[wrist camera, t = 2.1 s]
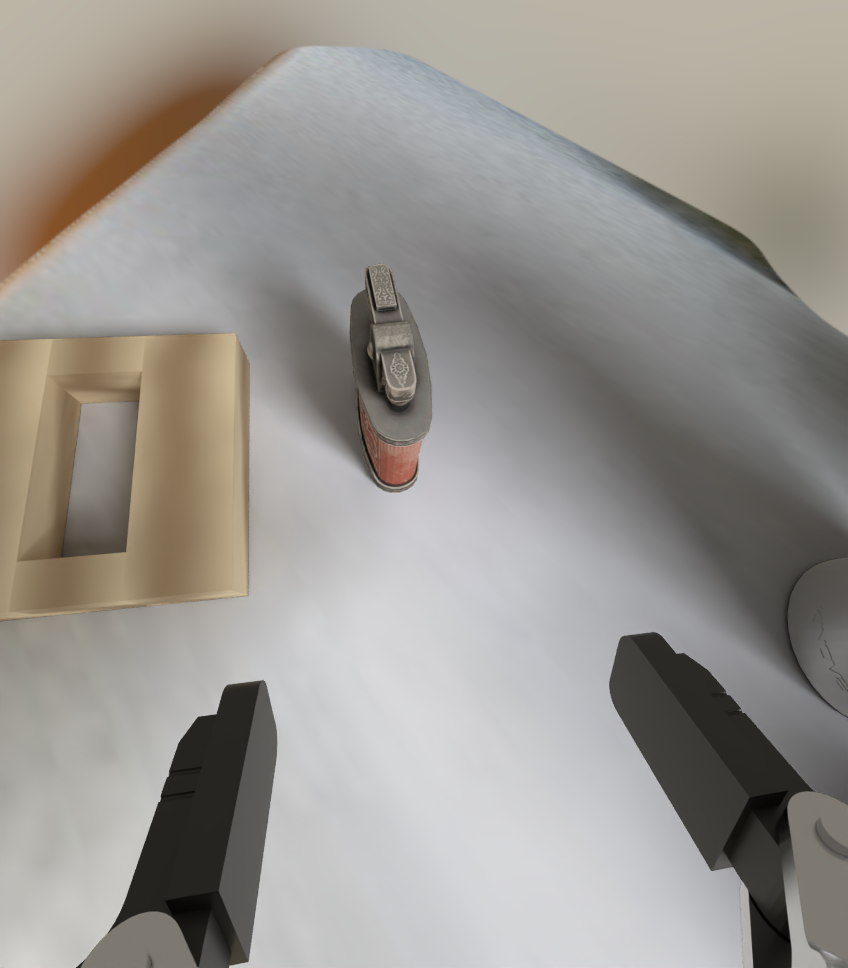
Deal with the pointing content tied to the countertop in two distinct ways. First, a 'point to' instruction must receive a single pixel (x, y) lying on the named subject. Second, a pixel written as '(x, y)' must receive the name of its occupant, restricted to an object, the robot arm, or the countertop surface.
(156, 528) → the rail
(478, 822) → the countertop surface
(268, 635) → the countertop surface
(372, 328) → the lighter
